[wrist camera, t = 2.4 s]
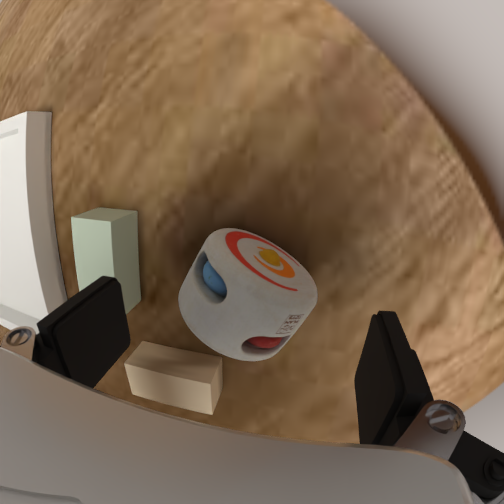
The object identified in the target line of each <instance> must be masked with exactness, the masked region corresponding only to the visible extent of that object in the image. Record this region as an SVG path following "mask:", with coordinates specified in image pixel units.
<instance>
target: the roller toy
mask: <svg viewBox="0 0 504 504" xmlns="http://www.w3.org/2000/svg"><path fill="white" fill-rule="evenodd" d="M317 299H318V292H317V287H316V284H315V282H314V280H313V278H312V277H311V275H310V274H309V273H308V272H307V270H306V269H305V268H304V267H303V266H302V265H301V264H300V263H299V262H298V261H297V260H296V259H295V258H293V257H292V256H291V255H290V254H288V253H287V252H286V251H284V250H283V249H281V248H280V247H278V246H277V245H275V244H273V243H272V242H270V241H268V240H266V239H264V238H262V237H260V236H258V235H256V234H253V233H251V232H248V231H245V230H240V229H235V228H223V229H219V230H216V231H214V232H213V233H211V234H210V235H209V236H208V238H207V239H206V241H205V243H204V244H203V246H202V248H201V250H200V252H199V253H198V255H197V257H196V259H195V261H194V263H193V264H192V266H191V268H190V270H189V272H188V274H187V276H186V278H185V280H184V282H183V284H182V286H181V288H180V291H179V296H178V301H179V308H180V311H181V314H182V317H183V319H184V321H185V322H186V324H187V326H188V327H189V328H190V330H191V331H192V332H193V333H194V334H195V335H196V336H197V337H198V338H199V339H200V340H201V341H202V342H203V343H205V344H206V345H207V346H209V347H210V348H212V349H213V350H215V351H216V352H218V353H220V354H223V355H225V356H228V357H230V358H234V359H237V360H243V361H260V360H265V359H268V358H270V357H272V356H274V355H275V354H277V353H278V352H279V351H280V350H281V348H282V347H283V346H284V345H285V344H286V343H287V342H288V340H289V339H290V338H291V337H292V336H293V335H294V333H295V332H296V331H297V330H298V328H299V327H300V326H301V324H302V323H303V322H304V320H305V319H306V318H307V316H308V315H309V314H310V312H311V311H312V310H313V308H314V307H315V305H316V303H317Z"/></svg>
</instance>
